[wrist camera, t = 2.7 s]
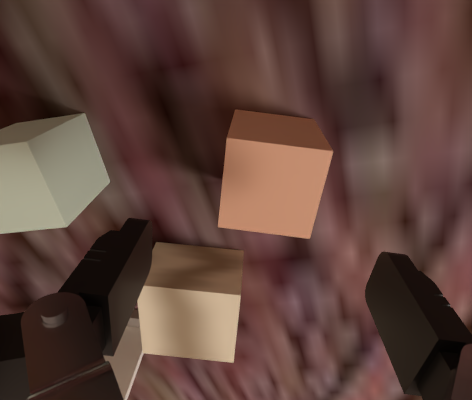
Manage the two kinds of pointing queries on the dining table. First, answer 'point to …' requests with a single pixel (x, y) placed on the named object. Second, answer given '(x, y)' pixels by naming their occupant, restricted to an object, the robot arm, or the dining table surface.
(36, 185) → the sage block
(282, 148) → the terracotta block
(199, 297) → the beech base block
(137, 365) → the board
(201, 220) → the dining table surface
